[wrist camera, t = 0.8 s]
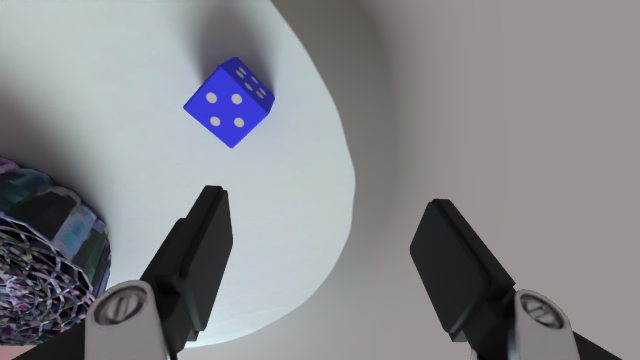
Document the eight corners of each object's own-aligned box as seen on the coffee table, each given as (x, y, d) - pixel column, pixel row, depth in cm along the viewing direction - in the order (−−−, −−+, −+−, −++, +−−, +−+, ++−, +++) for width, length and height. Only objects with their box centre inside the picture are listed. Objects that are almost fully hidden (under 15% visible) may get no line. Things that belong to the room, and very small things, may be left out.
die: (242, 129, 27) (231, 149, 23) (202, 92, 25) (181, 108, 20) (275, 97, 25) (269, 113, 21) (236, 55, 23) (220, 64, 19)
